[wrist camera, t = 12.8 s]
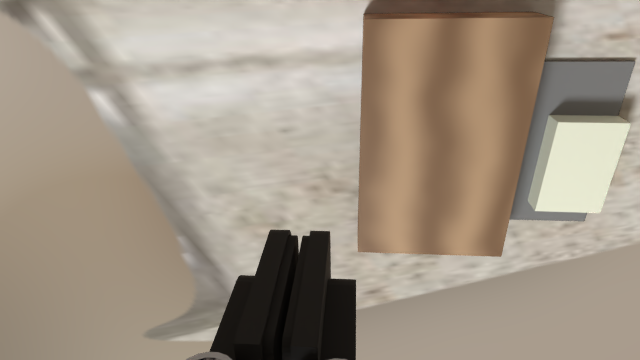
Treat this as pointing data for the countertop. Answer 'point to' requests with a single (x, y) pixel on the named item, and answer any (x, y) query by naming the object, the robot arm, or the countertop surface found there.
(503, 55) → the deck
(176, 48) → the countertop surface
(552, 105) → the mat
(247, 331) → the robot arm
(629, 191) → the countertop surface
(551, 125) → the cream rectangular block
